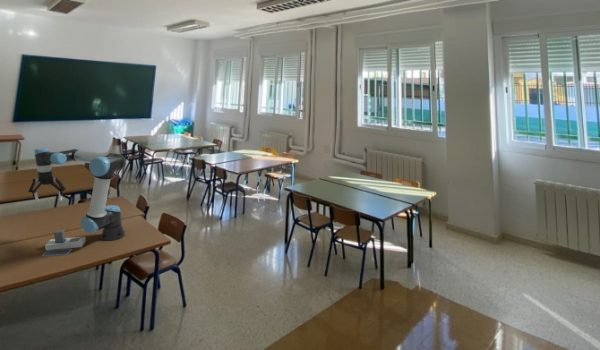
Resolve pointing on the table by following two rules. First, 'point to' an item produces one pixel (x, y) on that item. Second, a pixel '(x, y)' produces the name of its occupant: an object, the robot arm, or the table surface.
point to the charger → (59, 236)
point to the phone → (57, 252)
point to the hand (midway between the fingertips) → (49, 201)
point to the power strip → (66, 243)
